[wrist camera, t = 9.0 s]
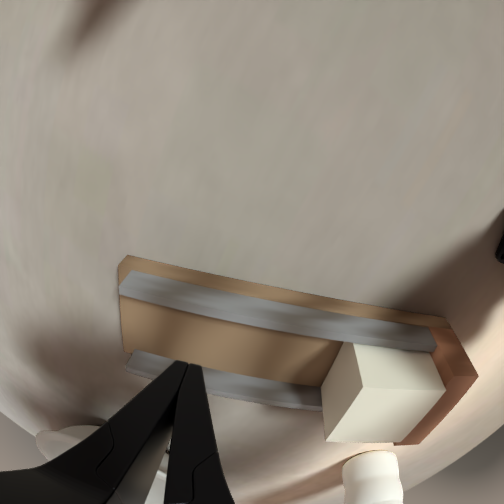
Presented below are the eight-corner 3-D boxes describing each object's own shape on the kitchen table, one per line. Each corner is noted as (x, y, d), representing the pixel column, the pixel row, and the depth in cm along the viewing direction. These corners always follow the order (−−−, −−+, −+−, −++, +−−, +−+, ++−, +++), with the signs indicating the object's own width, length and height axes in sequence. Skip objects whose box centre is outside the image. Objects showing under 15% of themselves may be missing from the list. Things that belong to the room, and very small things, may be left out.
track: (445, 317, 21) (478, 376, 15) (401, 386, 24) (418, 444, 18) (127, 254, 21) (80, 309, 15) (130, 339, 24) (99, 397, 18)
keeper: (422, 339, 20) (446, 390, 15) (387, 393, 22) (400, 442, 18) (349, 329, 20) (363, 386, 15) (320, 387, 22) (325, 441, 18)
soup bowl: (260, 467, 33) (255, 511, 27) (161, 490, 41) (152, 520, 35) (89, 364, 27) (59, 413, 21) (40, 417, 35) (23, 447, 29)
